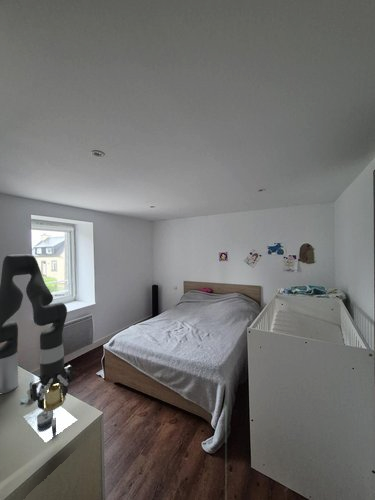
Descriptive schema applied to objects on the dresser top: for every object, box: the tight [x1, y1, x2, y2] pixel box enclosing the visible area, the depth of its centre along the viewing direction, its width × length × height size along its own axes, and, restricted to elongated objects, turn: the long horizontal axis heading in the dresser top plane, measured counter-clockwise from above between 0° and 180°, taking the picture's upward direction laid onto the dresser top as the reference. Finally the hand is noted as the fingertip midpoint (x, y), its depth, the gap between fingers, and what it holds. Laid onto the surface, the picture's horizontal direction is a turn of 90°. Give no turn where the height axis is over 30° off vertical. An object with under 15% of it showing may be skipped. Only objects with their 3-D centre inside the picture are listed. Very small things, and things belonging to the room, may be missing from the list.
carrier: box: [22, 405, 78, 443], centre depth 81 cm, size 21×11×5 cm, turn 57°
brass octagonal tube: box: [42, 382, 66, 412], centre depth 75 cm, size 7×7×6 cm
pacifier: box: [20, 388, 38, 404], centre depth 93 cm, size 7×6×6 cm
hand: (53, 401), depth 75 cm, fingers closed on brass octagonal tube, 7 cm apart
